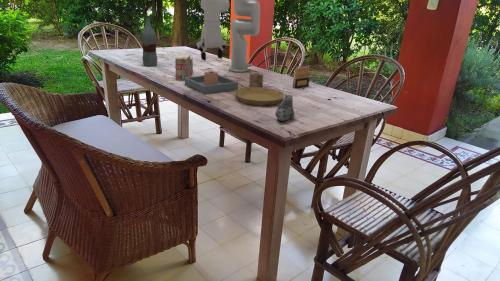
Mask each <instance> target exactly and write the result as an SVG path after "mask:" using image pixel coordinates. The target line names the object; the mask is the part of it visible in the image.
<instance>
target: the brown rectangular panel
mask: <svg viewBox="0 0 500 281" xmlns="http://www.w3.org/2000/svg"><path fill="white" fill-rule="evenodd" d="M293 77H294V78H293V82H292V88H293V89H302V88H306V87H309V86H310V85H309V84H310V64H308V65H301V66H300V65H298V66H296V67H295V72H294V76H293Z"/></svg>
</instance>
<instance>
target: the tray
mask: <svg viewBox="0 0 500 281" xmlns="http://www.w3.org/2000/svg"><path fill="white" fill-rule="evenodd" d="M184 86H186V87H188V88H190V89H192V90H194V91H196V92H198V93H200V94H203V95H210V94H211V95H212V94H217V93H224V92H230V91H231V92H233V91H236V90H237V89H239V82H238V81H236V80H234V79H231V78H229V77H226V76H223V75H220V74H218V84H215V85H207V86H205V85H204V75H198V76H197V75H196V76H190V77H186V78H185V80H184Z"/></svg>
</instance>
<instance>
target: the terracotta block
mask: <svg viewBox="0 0 500 281" xmlns="http://www.w3.org/2000/svg"><path fill="white" fill-rule="evenodd" d="M218 75H219V73H218V72H216V71H213V70H211V71H204V75H203V76H204V85H205V86H207V85H215V84H218Z"/></svg>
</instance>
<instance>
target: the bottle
mask: <svg viewBox="0 0 500 281" xmlns="http://www.w3.org/2000/svg"><path fill="white" fill-rule="evenodd" d="M140 36H141V45H142V63H143V66H144V67H149V68H151V67H153V68H154V67H157V65H158V55H157V34H156V31H155V30H154V29H153V27H152V25H151V16H150V15H145V27H144V28H143V29H142V31H141V35H140Z"/></svg>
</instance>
